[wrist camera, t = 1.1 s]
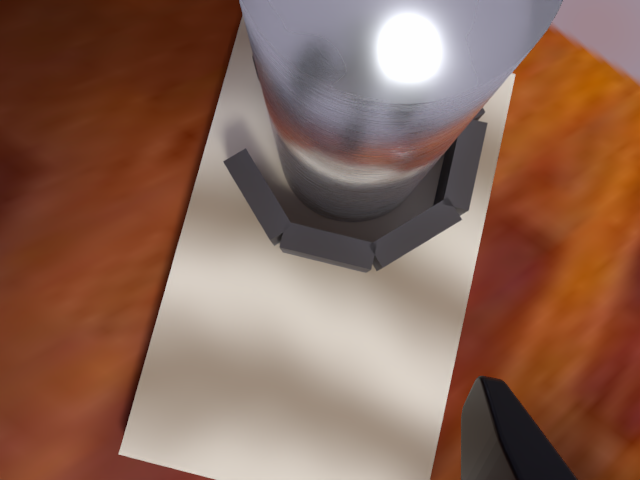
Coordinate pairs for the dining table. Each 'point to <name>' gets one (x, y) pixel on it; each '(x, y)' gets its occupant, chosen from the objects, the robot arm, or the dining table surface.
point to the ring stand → (309, 311)
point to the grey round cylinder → (380, 88)
